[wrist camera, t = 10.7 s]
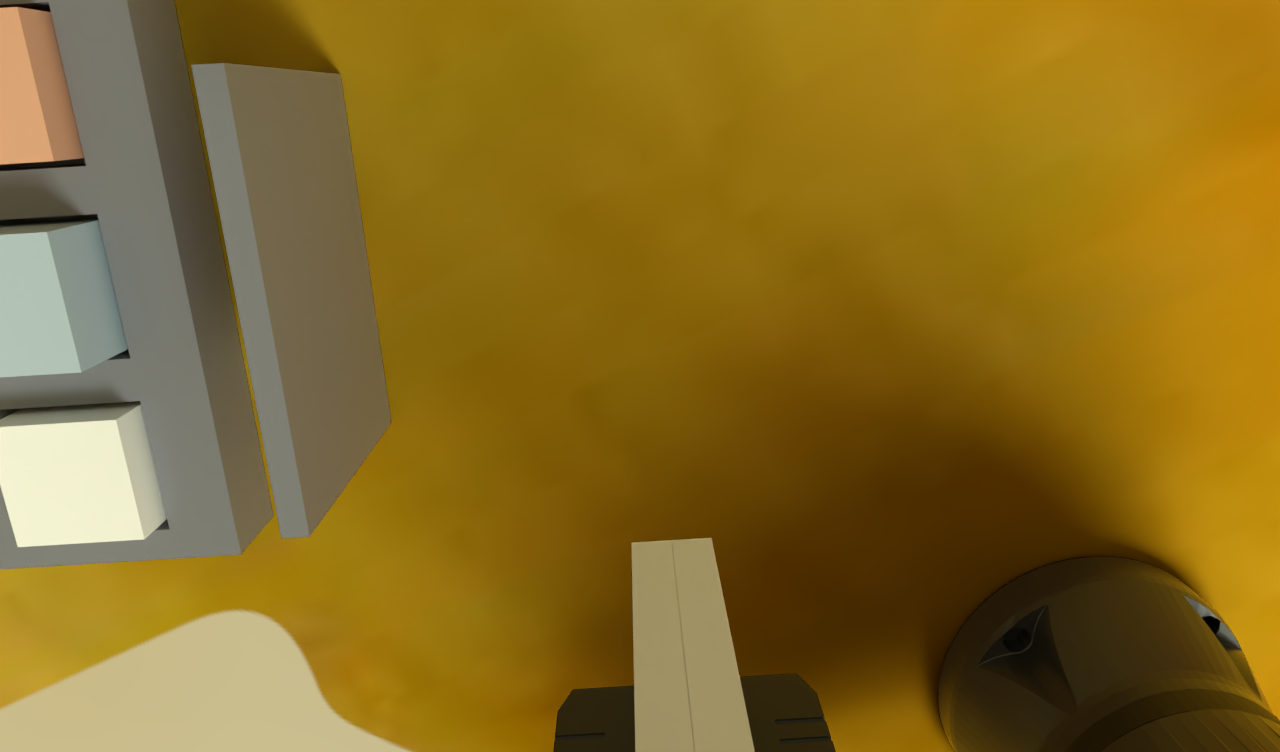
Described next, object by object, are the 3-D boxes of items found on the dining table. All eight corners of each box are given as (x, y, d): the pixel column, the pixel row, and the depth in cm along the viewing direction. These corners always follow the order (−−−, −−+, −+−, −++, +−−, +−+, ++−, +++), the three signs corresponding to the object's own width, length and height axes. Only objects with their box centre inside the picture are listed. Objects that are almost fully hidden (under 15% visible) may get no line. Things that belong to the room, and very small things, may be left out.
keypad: (403, 508, 45) (329, 646, 34) (32, 530, 45) (-169, 677, 34) (323, -40, 38) (194, -101, 27) (-119, -12, 38) (-440, -62, 27)
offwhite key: (186, 500, 43) (144, 539, 39) (71, 507, 43) (17, 547, 39) (162, 390, 42) (115, 419, 38) (42, 397, 42) (-16, 427, 38)
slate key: (134, 346, 40) (81, 372, 36) (7, 353, 40) (-59, 380, 36) (104, 218, 38) (46, 232, 34) (-27, 226, 38) (-100, 241, 34)
